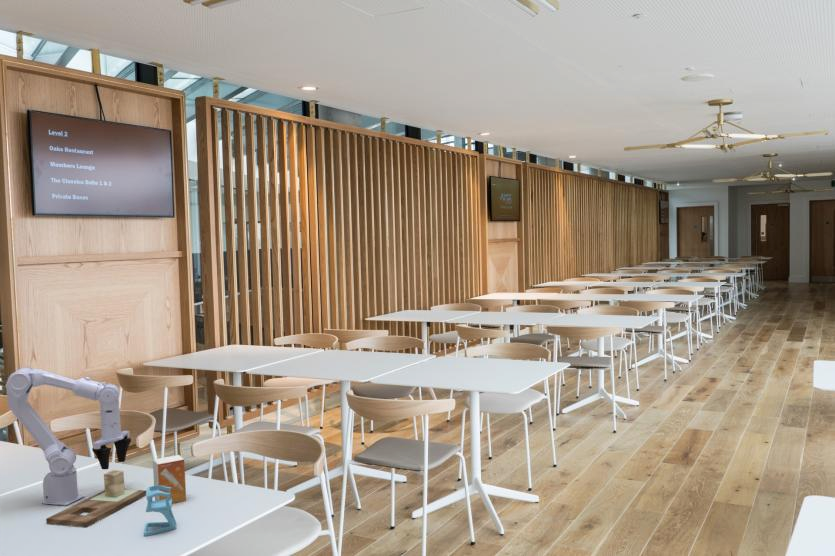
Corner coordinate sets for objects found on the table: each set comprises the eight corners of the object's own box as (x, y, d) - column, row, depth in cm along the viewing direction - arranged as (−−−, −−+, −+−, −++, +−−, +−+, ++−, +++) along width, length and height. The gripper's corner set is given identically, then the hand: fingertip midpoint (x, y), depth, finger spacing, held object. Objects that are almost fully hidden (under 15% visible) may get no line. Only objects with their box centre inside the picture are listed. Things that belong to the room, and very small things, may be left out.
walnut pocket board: (46, 523, 206) (46, 518, 206) (109, 492, 231) (109, 488, 231) (86, 527, 202) (86, 522, 202) (146, 495, 227) (146, 490, 227)
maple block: (105, 496, 221) (103, 474, 221) (114, 492, 225) (112, 470, 225) (115, 497, 220) (114, 475, 220) (124, 493, 224) (123, 471, 224)
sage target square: (89, 500, 219) (89, 499, 219) (112, 489, 229) (112, 488, 229) (117, 502, 217) (117, 501, 217) (138, 491, 226) (138, 490, 226)
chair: (175, 532, 196) (173, 488, 195) (143, 536, 193) (141, 492, 193) (176, 522, 203) (175, 480, 203) (145, 526, 201) (143, 483, 200)
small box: (159, 506, 216) (157, 464, 215) (154, 501, 221) (152, 459, 220) (187, 500, 220) (184, 458, 220) (181, 495, 225) (178, 454, 225)
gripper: (105, 429, 220) (108, 473, 220) (136, 417, 233) (138, 458, 234) (86, 428, 222) (89, 471, 222) (118, 417, 235) (120, 457, 236)
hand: (113, 465), depth 228 cm, fingers open, 7 cm apart
